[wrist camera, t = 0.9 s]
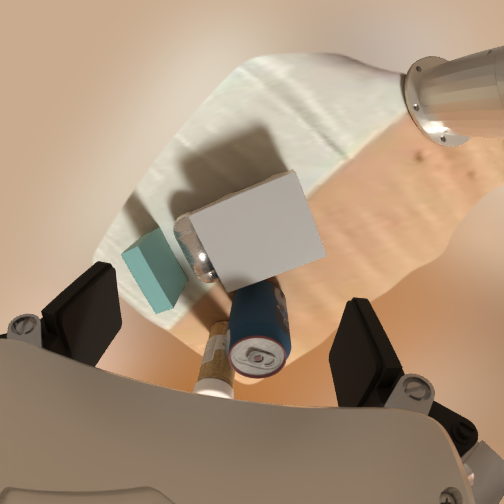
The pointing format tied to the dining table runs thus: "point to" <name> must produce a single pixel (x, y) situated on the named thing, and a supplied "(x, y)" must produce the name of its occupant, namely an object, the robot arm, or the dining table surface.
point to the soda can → (258, 331)
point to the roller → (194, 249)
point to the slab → (259, 231)
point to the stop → (155, 270)
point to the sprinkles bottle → (216, 366)
